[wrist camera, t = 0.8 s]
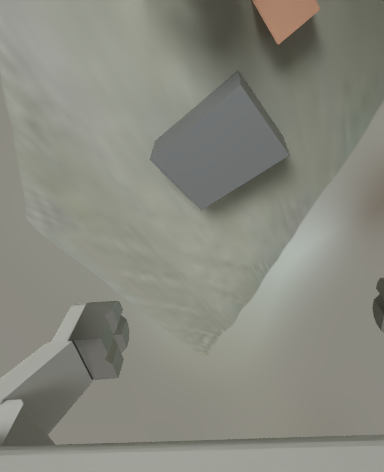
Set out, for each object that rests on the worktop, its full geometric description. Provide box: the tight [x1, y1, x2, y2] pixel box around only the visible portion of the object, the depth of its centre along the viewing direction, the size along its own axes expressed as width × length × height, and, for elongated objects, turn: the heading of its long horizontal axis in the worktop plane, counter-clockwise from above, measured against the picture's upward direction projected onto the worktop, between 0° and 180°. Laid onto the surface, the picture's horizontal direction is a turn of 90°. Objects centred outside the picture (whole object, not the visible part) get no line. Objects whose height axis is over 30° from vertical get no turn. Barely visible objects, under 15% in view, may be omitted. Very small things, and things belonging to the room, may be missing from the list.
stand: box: [150, 71, 289, 210], centre depth 45 cm, size 16×12×6 cm
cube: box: [252, 0, 320, 45], centre depth 34 cm, size 5×5×5 cm
